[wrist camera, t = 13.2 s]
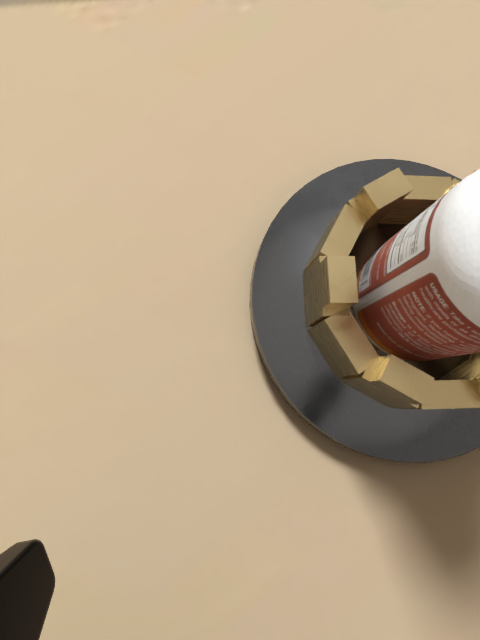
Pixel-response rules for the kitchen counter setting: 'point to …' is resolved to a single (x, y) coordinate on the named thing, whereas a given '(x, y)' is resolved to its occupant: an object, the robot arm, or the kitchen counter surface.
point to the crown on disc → (341, 325)
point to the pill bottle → (427, 282)
